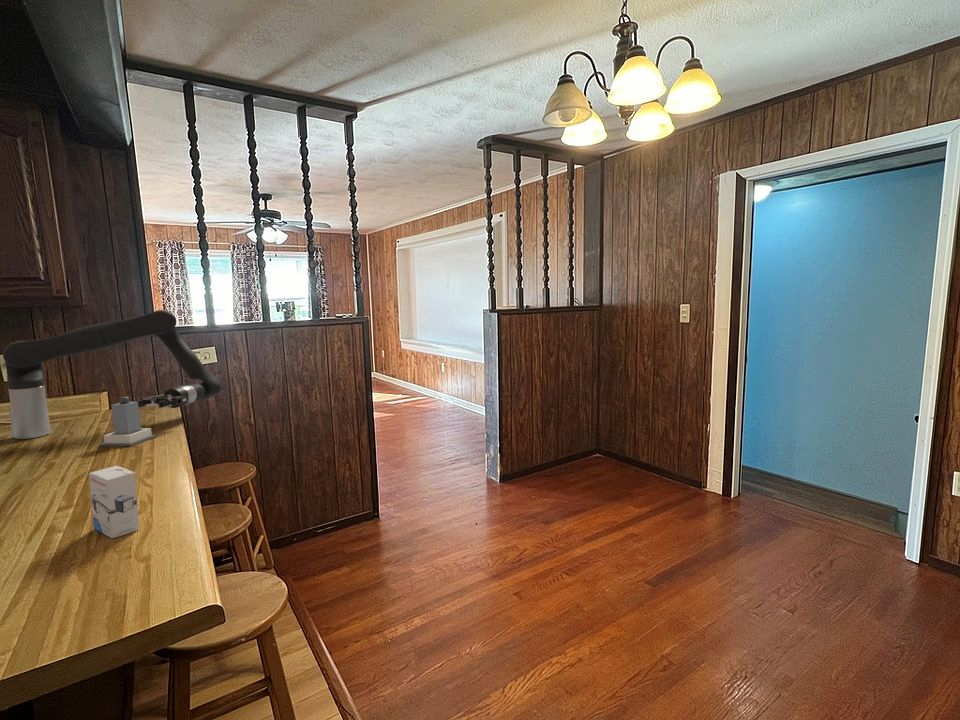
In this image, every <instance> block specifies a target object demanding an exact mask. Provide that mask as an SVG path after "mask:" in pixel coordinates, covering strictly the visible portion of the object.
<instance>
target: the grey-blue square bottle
mask: <svg viewBox="0 0 960 720" xmlns="http://www.w3.org/2000/svg"><path fill="white" fill-rule="evenodd" d="M129 398H130V397H129V396H122V397H119V403H114V404H111V405H110V406H111V415H112V416H111V417H112V424H113V432H114V434H115V435H130V434H133V433H136V432H139V431H141V428H142V426H141V418H140V410H139V408H140V407H139V408H138V402H136V401H130V399H129Z"/></svg>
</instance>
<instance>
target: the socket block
mask: <svg viewBox="0 0 960 720" xmlns="http://www.w3.org/2000/svg"><path fill="white" fill-rule="evenodd" d="M157 436H158V434H153V433H152V428H151V427H150V428H149V427H147V428H146V427H145V428H144V427H141V431H139V432H136V433H133V434H130V435H115V434H114V431H113V432H110V433H107V434H104V435H103V441H104V442H101V443H98V447H126V446H131V447H134V446H136V444H137V445H139V444H141V442H142V443H144V442H143V441H145V442H147V441H150V440H152V439H151V438H153V439H155V438H157ZM154 437H155V438H154ZM149 439H150V440H149ZM146 440H147V441H146ZM138 443H139V444H138ZM133 445H134V446H133Z"/></svg>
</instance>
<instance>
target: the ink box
mask: <svg viewBox="0 0 960 720" xmlns="http://www.w3.org/2000/svg"><path fill="white" fill-rule="evenodd" d="M88 474H89V475H88V476H89V485H90V496H91V507H92V518H93V519H92V520H93V529H94V530H96V531H98V532H100V533H101V534H103V535H105V536H107V537H108V538H110V539H115V538H118V537H121V536H125V535H128V534H131V533H134V532H137V531H140V530H139V529H140V524H139V513H138V500H137V486H136V484H137V483H136V473H135V472H134V471H132V470H129V469H127V468H124V467H121V466H119V465H114V466H109V467H106V468H103V469H99V470H96V471H91V472H89V473H88Z"/></svg>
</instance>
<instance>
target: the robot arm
mask: <svg viewBox="0 0 960 720" xmlns="http://www.w3.org/2000/svg"><path fill="white" fill-rule="evenodd" d="M176 326H177V318H176V316H175V315H174V314H173V313H172V312H170V311H168V310H165V309H158V310H154V311H152V312H150V313H147V314H143V315H140V316H136V317H133V318H128V319H120V320H113V321H112V320H111V321H105V322H100V323H95V324H91V325H87V326H82V327H78V328H75V329H72V330H69V331H67V332H64V333H60V334H58V335H55V336H50V337H45V338H39V339H32V340H16V341H13V342H11V343H9V344H8V345H7V346H6V347H5V348H4V350H3V353H2V357H3V361H4V362H5V368H6V375H7V378H6V379H7V382H6V383H7V387H8V395H9V396H8V397H9V402H10V408H11V409H10V410H9V411H8V414H9V421H10V428H11V434H12V439H13V438H15V440H17V439H18V440H29V439H35V438H41V437H45V436H48V435H50V434H51V433H52V432H51V426H50V425H51V424H50V415H49V409H48V408H49V407H48V403H47V402H48V401H47V395H46V388H45V376H44V368H43V363H45V362H48V361H51V360H55V359H57V358H62V357H67V356H74V355H75V356H76V355H79V354H86V353H90V352H96V351H100V350H104V349H107V348H111V347H116V346H118V345H121V344H124V343H127V342H128V341H131V340H134V339H137V338H141V337H147V336H152V335H155V336H156V337H158V339H159V340H161V342H162V343H163V344H164V345H165V346H166V347H167V349H168V350H169V351H170V353H171V355H172V356H173V357H174V359H175V360H176V361H177V363H178V365H179V366H180V368H181V369H182V371H183V372H184V373H185V375H186V376H187V378H188V379H190V380H200V381H202V382H199V383H191V384H190V383H189V384H186V385H179V386H174V387H171V388H168V389H166V390H165V391H164V392H163V394H159V395H150V396H146V397H140V398H139V400H137V401H135V402H138V408H141V407H146V406H152V407H157V406H158V408H159V409H162V408H165V407H168V408H169V409H176V408H177V409H178V408H180V407H183V406H186V405H189V404H192V403H194V402H197V401H205V400H207V399H210V398H211V397H214V396H216V395H218V394H220V393H221V392H222V391H223V390H222V389H223V386H222V383H221V381H220V379H218V378H217V377H216V376H215V375H214V374H212V372H210V371H209V370H208V369H207V368H206V367H205V366H204V365H203V363H202V362H201V360H200V359H199V357H198V356H197V354H196V353H195V352H194V351H193V350H192V349H191V348H190V347H189V346H188V344H186V342H185V341H184V340H183V339H182V337H181V335H180V334H179V332H178V330H177V328H176ZM49 433H50V434H49ZM47 434H48V435H47Z"/></svg>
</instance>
